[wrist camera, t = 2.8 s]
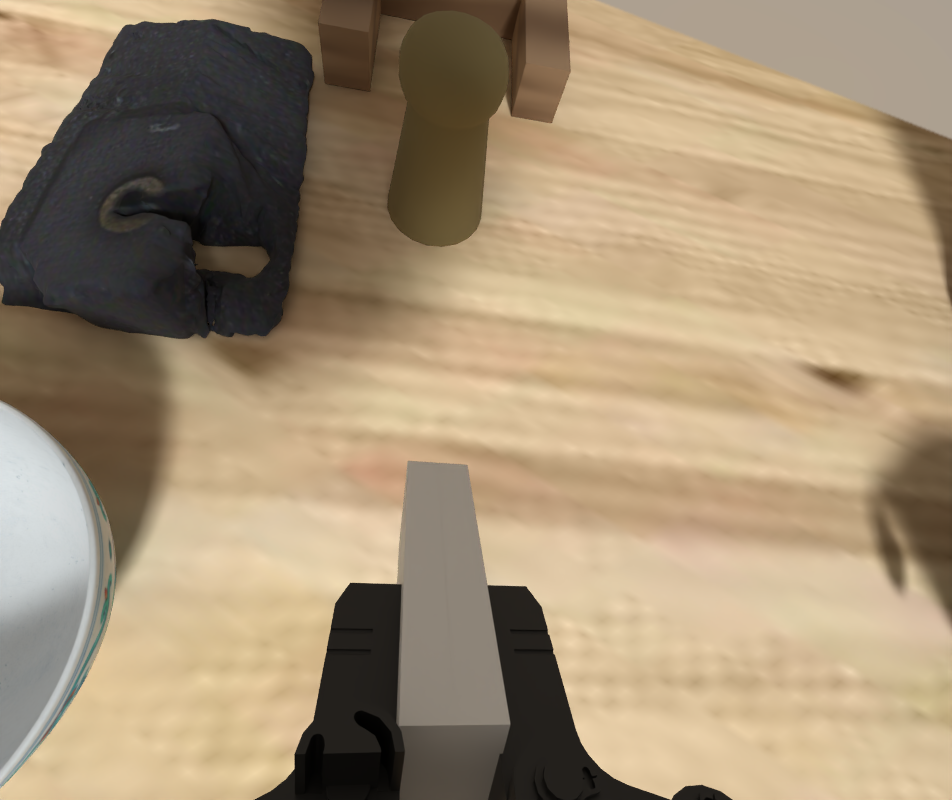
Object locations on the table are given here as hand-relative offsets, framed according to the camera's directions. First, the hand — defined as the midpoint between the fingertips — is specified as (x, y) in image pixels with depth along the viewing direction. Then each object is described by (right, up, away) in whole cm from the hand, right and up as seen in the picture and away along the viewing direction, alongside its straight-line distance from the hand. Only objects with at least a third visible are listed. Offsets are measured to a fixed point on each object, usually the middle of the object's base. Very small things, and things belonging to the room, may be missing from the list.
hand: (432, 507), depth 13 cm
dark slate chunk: (-16, +16, +18) cm, 29 cm away
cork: (-2, +15, +20) cm, 25 cm away
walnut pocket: (-1, +29, +24) cm, 38 cm away
